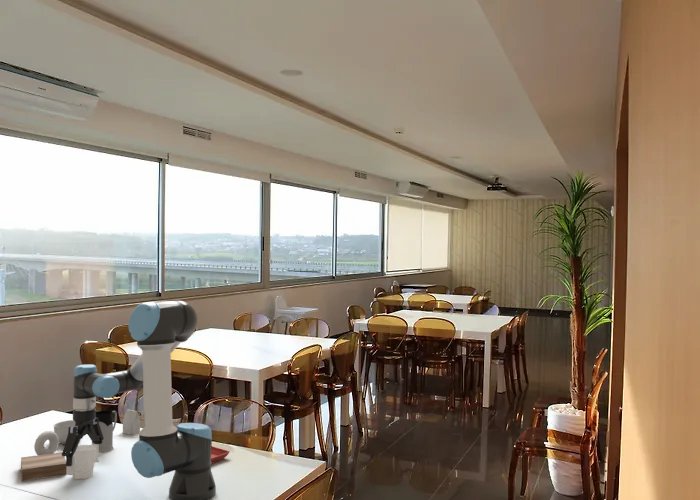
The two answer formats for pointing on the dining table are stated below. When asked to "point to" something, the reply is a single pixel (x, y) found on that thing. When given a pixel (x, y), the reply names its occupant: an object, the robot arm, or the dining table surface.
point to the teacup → (63, 430)
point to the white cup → (84, 461)
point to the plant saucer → (218, 454)
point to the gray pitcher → (106, 429)
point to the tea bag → (131, 422)
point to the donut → (42, 439)
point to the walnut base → (43, 466)
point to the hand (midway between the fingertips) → (83, 468)
